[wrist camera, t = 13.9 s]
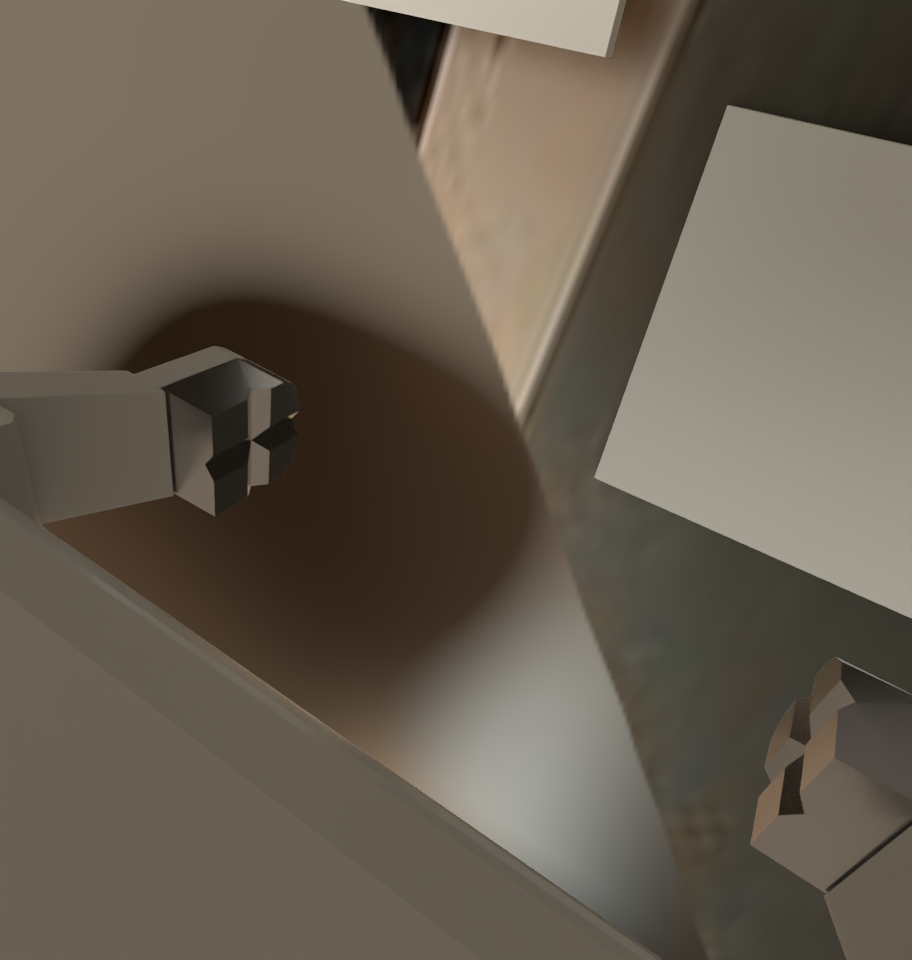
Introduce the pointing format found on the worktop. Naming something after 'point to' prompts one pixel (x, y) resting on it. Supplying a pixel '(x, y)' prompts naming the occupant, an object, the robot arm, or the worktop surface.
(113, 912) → the robot arm
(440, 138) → the worktop surface
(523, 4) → the cover sheet
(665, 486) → the mat
